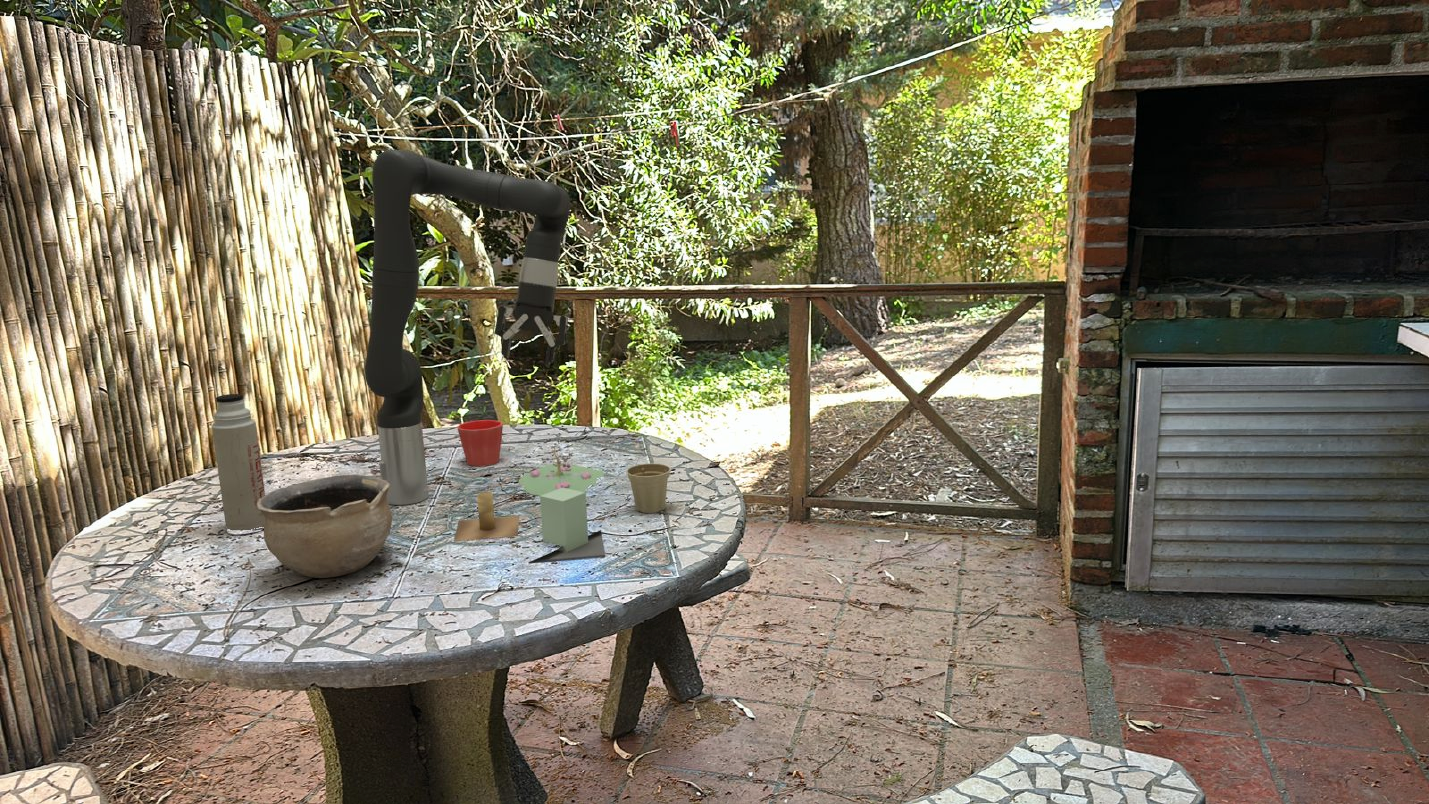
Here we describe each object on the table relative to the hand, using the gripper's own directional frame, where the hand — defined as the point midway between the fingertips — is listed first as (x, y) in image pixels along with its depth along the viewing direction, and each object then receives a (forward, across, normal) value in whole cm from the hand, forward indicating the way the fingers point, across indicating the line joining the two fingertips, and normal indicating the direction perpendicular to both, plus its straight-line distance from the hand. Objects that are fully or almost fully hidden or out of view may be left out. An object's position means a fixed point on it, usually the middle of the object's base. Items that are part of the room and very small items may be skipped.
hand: (527, 361), depth 200 cm
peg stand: (+34, -1, -10) cm, 36 cm away
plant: (+29, +7, +24) cm, 38 cm away
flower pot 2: (+27, +29, +4) cm, 40 cm away
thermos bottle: (+43, -51, -3) cm, 67 cm away
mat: (+32, +16, -17) cm, 40 cm away
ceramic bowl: (+41, -25, -25) cm, 54 cm away
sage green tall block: (+32, +15, -17) cm, 39 cm away
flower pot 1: (+30, -16, +42) cm, 54 cm away
